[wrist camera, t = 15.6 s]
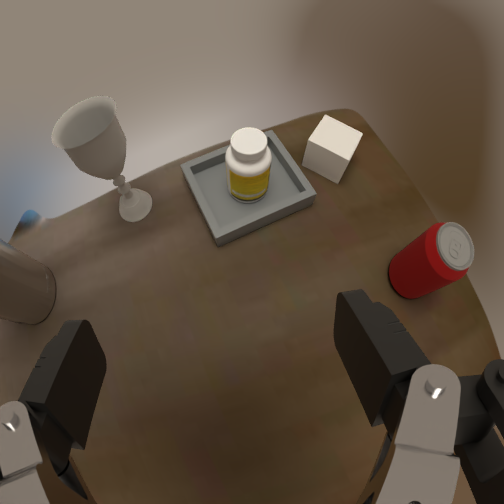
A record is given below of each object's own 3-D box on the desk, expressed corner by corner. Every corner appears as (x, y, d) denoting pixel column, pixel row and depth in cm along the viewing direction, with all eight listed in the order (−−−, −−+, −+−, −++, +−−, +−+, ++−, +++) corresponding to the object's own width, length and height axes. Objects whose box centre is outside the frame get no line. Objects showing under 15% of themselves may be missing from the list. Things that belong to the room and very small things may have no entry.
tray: (218, 247, 39) (215, 238, 36) (184, 176, 42) (180, 164, 40) (312, 204, 41) (316, 193, 38) (270, 142, 45) (271, 129, 42)
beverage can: (432, 268, 38) (482, 237, 27) (417, 309, 37) (471, 288, 25) (396, 243, 40) (440, 204, 28) (378, 284, 38) (425, 254, 26)
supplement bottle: (274, 196, 40) (282, 151, 31) (236, 210, 40) (234, 166, 30) (258, 165, 42) (261, 117, 33) (222, 177, 41) (216, 131, 32)
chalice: (115, 234, 39) (49, 160, 22) (109, 195, 41) (53, 114, 24) (164, 217, 40) (119, 129, 23) (155, 178, 42) (115, 87, 25)
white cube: (337, 184, 43) (349, 160, 37) (301, 165, 44) (308, 140, 38) (351, 157, 44) (363, 133, 39) (317, 140, 45) (325, 114, 40)
